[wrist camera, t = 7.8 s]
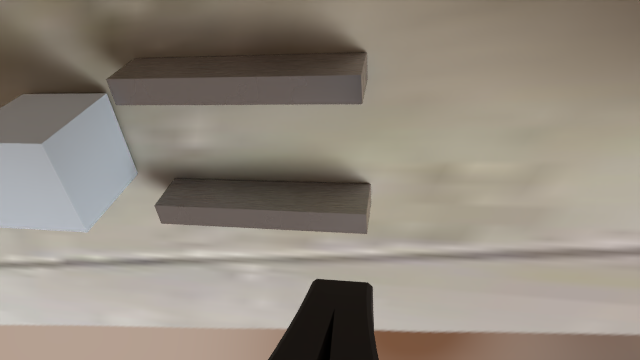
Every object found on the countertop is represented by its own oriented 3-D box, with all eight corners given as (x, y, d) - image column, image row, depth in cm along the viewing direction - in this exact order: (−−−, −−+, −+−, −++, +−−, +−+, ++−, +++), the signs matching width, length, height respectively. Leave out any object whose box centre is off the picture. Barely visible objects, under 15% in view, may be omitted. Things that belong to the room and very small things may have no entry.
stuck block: (106, 93, 18) (41, 143, 15) (137, 173, 21) (87, 232, 18) (22, 94, 19) (-56, 142, 16) (62, 171, 21) (0, 227, 18)
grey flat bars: (366, 52, 16) (361, 75, 14) (370, 202, 20) (367, 233, 18) (134, 58, 17) (106, 79, 16) (180, 195, 21) (161, 223, 20)
